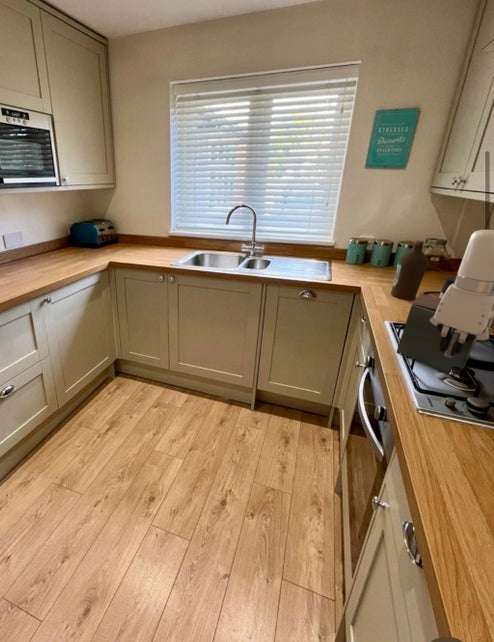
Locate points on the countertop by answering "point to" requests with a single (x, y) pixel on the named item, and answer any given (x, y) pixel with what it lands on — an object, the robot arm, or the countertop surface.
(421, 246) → the olive oil
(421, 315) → the door
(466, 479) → the countertop surface
